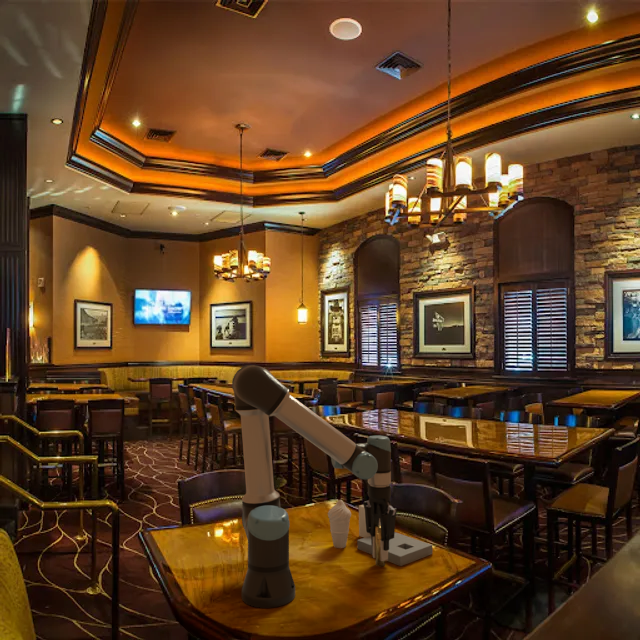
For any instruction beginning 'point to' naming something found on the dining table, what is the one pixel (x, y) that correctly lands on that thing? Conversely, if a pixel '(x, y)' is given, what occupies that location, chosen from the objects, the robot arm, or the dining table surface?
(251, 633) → the dining table surface
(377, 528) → the brass pin
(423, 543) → the socket board
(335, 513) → the soft serve ice cream cone
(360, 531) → the block
